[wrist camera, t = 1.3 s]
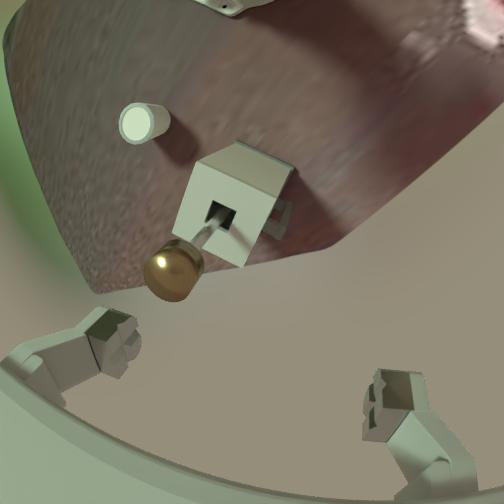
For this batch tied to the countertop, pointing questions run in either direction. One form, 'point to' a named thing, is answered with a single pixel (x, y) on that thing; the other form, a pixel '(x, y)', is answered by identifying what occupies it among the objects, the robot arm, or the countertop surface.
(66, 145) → the countertop surface
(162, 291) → the plunger
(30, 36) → the countertop surface
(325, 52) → the countertop surface
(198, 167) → the block
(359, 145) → the countertop surface
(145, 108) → the shot glass
